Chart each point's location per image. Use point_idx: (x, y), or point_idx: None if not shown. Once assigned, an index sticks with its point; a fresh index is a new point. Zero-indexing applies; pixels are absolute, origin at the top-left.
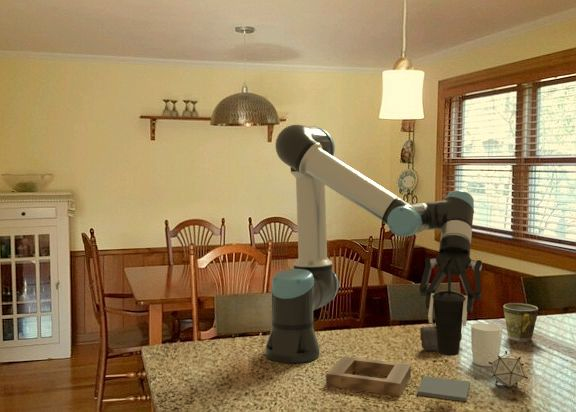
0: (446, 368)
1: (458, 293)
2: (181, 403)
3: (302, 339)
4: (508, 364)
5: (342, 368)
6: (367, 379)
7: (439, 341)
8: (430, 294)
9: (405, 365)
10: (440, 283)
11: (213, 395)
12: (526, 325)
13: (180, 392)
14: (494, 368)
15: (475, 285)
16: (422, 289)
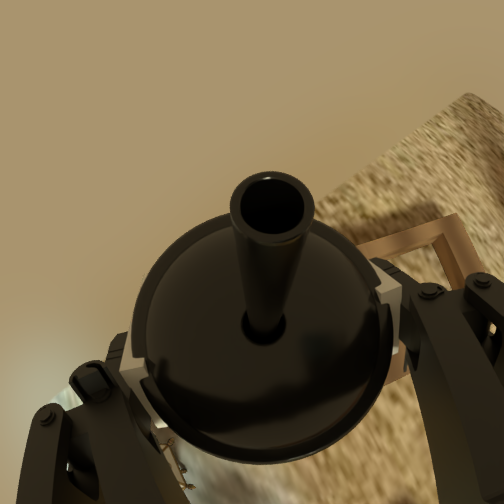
0: (324, 492)
1: (177, 337)
2: (471, 101)
3: None
4: None
5: (461, 254)
6: (394, 233)
7: (280, 319)
8: (407, 301)
9: (388, 372)
10: (434, 473)
11: (478, 126)
12: None
13: (495, 120)
14: (169, 460)
15: (54, 470)
16: (470, 279)
